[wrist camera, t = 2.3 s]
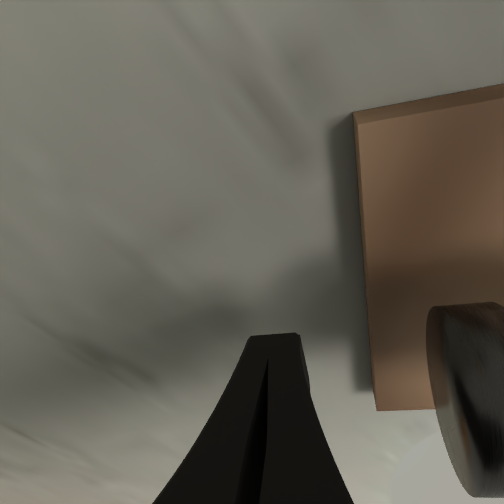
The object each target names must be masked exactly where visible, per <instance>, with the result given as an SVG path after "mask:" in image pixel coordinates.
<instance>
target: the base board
mask: <svg viewBox="0 0 504 504" xmlns="http://www.w3.org/2000/svg"><path fill="white" fill-rule="evenodd" d="M353 121H354V135H355V149H356V163H357V176H358V190H359V204H360V218H361V232H362V246H363V259H364V273H365V287H366V301H367V315H368V329H369V342H370V356H371V370H372V384H373V392H374V398H375V403H376V409H377V411H394V410H423V409H435V405H434V401H433V396H432V390H431V385H430V379H429V372H428V364H427V354H426V322H427V316H428V313H429V310H430V309H431V308H432V307H434V306H443V305H455V304H467V303H479V302H495V303H498V304H500V305H501V306H503V307H504V84H500V85H495V86H489V87H484V88H479V89H473V90H468V91H463V92H457V93H452V94H447V95H442V96H436V97H431V98H426V99H420V100H415V101H410V102H404V103H399V104H394V105H389V106H383V107H378V108H373V109H367V110H362V111H357V112H353Z"/></svg>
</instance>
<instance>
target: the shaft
mask: <svg viewBox="0 0 504 504" xmlns="http://www.w3.org/2000/svg"><path fill="white" fill-rule="evenodd" d="M426 354H427V364H428V372H429V379H430V385H431V390H432V396H433V401H434V405H435V410H436V414H437V418H438V422H439V426H440V429H441V433H442V436H443V440H444V443H445V446H446V449H447V452H448V455H449V458H450V460H451V463H452V465H453V468H454V470H455V472H456V474H457V476H458V478H459V480H460V482H461V484H462V486H463V487H464V489H465V490H466V491H467V493H468V494H469V495H471V496H472V497H483V498H487V497H488V498H504V307H503V306H501V305H500V304H498V303H495V302H479V303H467V304H455V305H443V306H434V307H432V308H431V309H430V310H429V313H428V316H427V322H426Z"/></svg>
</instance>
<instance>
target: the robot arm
mask: <svg viewBox="0 0 504 504" xmlns="http://www.w3.org/2000/svg"><path fill="white" fill-rule="evenodd" d="M152 504H354V503H353V501H352V498H351V496H350V494H349V492H348V490H347V488H346V486H345V483H344V481H343V479H342V477H341V474H340V472H339V470H338V467H337V465H336V463H335V461H334V458H333V456H332V453H331V451H330V448H329V446H328V443H327V441H326V438H325V436H324V433H323V430H322V428H321V425H320V422H319V420H318V417H317V414H316V411H315V408H314V405H313V402H312V398H311V394H310V384H309V376H308V371H307V366H306V362H305V357H304V352H303V347H302V343H301V338H300V335H298V334H297V333H283V334H270V335H257V336H251V337H250V338H249V339H248V340H247V343H246V345H245V348H244V350H243V352H242V355H241V357H240V359H239V362H238V364H237V366H236V368H235V370H234V372H233V374H232V376H231V378H230V380H229V382H228V384H227V386H226V388H225V390H224V392H223V394H222V396H221V398H220V400H219V402H218V404H217V405H216V407H215V409H214V411H213V413H212V414H211V416H210V418H209V419H208V421H207V423H206V425H205V426H204V428H203V430H202V431H201V433H200V435H199V436H198V438H197V440H196V441H195V443H194V445H193V446H192V448H191V449H190V451H189V452H188V454H187V455H186V457H185V459H184V460H183V462H182V463H181V464H180V466H179V467H178V469H177V470H176V472H175V473H174V475H173V476H172V478H171V479H170V480H169V482H168V483H167V485H166V486H165V487H164V489H163V490H162V491H161V493H160V494H159V495H158V497H157V498H156V499H155V501H154V502H153V503H152Z"/></svg>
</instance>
